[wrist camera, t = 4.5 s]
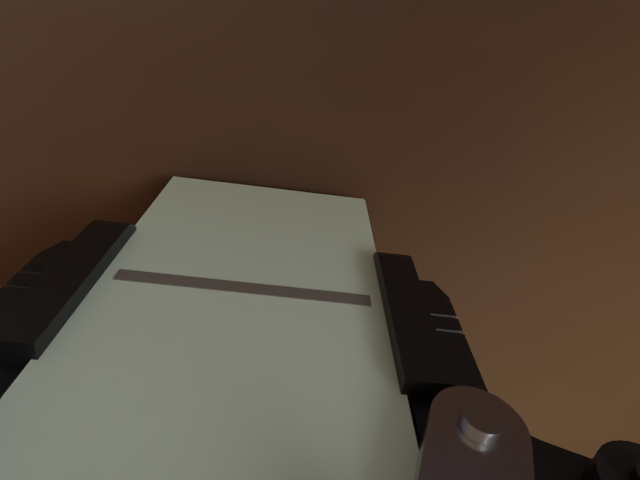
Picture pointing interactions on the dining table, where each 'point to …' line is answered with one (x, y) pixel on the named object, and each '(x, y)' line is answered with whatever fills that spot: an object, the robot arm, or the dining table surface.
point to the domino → (221, 352)
